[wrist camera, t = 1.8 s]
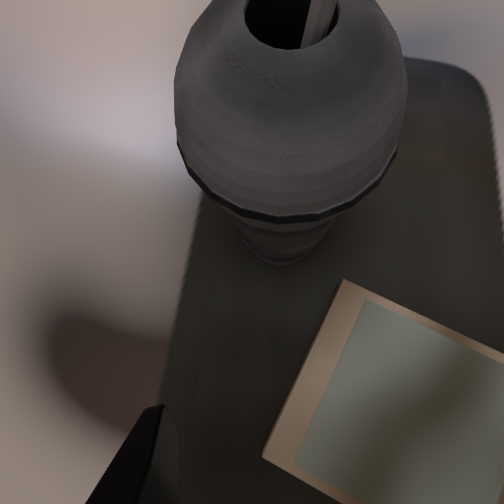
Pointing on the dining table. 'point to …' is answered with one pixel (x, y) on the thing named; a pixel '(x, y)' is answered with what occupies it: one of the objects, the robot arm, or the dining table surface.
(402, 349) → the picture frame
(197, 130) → the beverage cup
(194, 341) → the dining table surface
